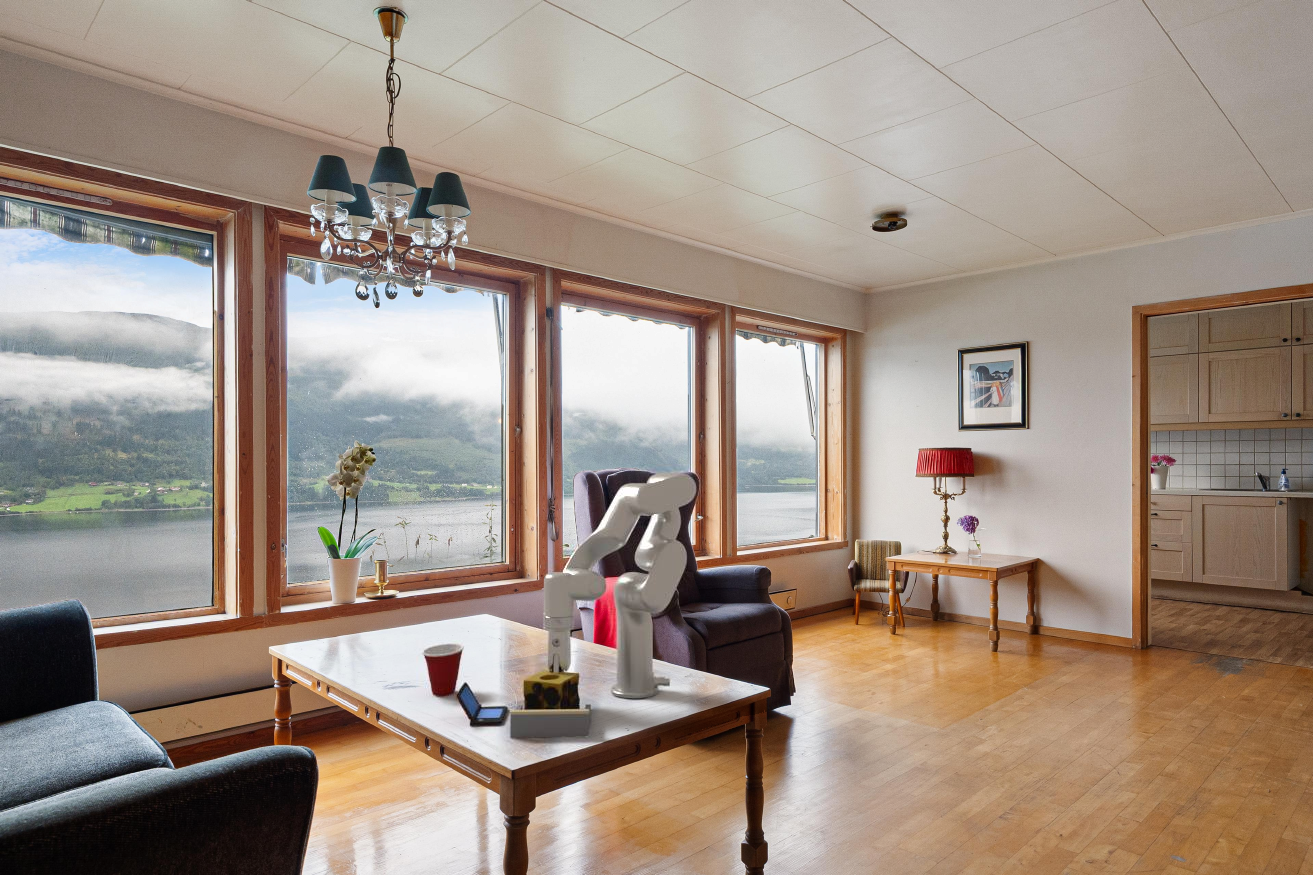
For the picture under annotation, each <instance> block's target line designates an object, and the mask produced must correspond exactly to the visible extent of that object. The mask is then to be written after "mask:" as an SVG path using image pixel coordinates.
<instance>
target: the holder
mask: <svg viewBox="0 0 1313 875" xmlns="http://www.w3.org/2000/svg"><path fill="white" fill-rule="evenodd" d="M523 706H524V705H523V704H517V705H516V707H515V709H511V710H510V727H509V730H510V732H509V734H510V739H511V738H562V737H561V736H566V737H565V738H568V737H569V738H572V737H573V738H575V737H574V736H578V737H579V736H588V735H589V734H590V730H589V729H591V723H592V704H589V703H588V704H585V707H584V708H580V709H558V710H524V709H523V708H524V707H523ZM557 736H559V737H557ZM570 736H571V737H570ZM588 737H589V736H588Z"/></svg>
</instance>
